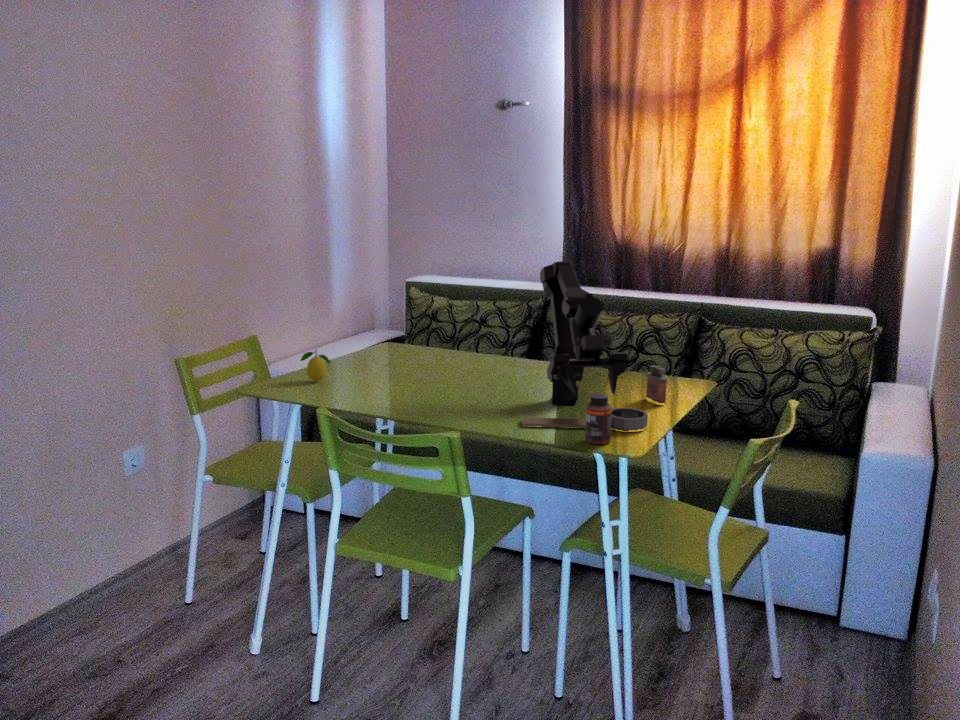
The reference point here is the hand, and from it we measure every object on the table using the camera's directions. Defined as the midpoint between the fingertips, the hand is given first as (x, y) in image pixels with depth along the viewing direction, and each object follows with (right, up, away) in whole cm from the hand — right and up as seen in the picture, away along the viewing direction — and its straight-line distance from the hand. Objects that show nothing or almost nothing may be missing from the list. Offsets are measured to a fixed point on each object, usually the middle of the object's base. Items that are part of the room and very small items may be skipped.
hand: (595, 394), depth 219 cm
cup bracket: (-1, -8, +11) cm, 14 cm away
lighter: (+20, -4, +32) cm, 38 cm away
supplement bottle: (0, -11, -1) cm, 11 cm away
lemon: (-75, +1, +49) cm, 89 cm away
